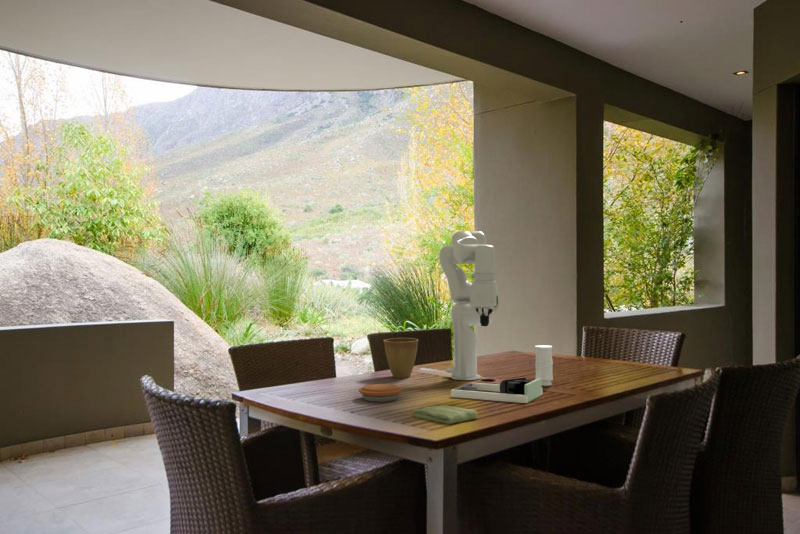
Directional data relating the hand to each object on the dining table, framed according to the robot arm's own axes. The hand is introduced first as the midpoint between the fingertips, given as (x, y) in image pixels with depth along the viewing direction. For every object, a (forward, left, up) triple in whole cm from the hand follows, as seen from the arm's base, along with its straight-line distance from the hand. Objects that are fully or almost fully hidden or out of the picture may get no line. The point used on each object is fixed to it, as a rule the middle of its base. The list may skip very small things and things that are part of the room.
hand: (484, 325), depth 255 cm
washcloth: (+7, -51, -25) cm, 57 cm away
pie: (-27, -33, -25) cm, 49 cm away
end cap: (+16, -11, -25) cm, 31 cm away
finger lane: (+8, -10, -24) cm, 28 cm away
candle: (+16, +21, -24) cm, 36 cm away
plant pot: (-45, +15, -24) cm, 53 cm away
